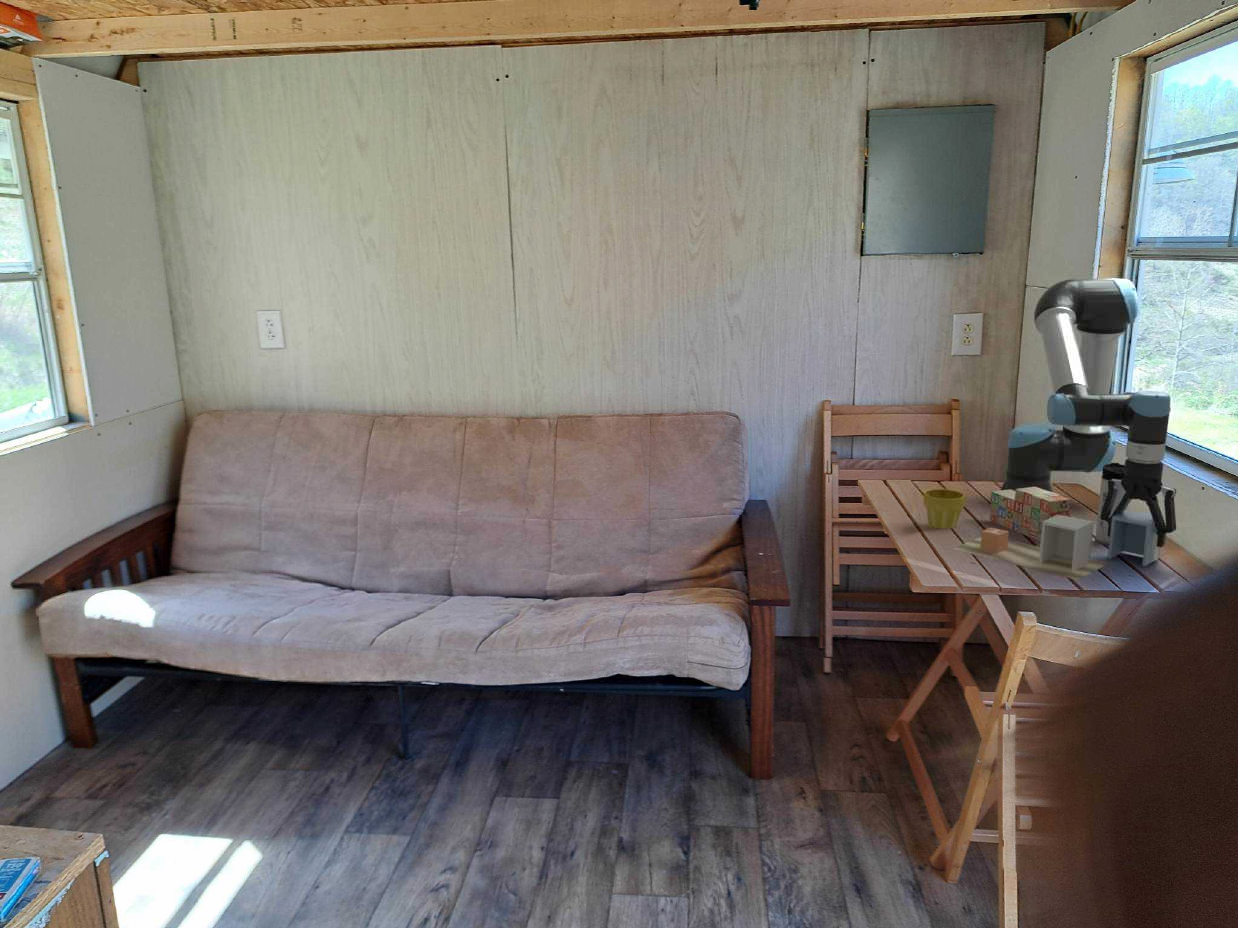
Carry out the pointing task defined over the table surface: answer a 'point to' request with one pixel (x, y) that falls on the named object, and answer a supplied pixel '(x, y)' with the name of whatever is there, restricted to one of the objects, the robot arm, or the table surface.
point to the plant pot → (943, 507)
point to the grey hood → (1066, 540)
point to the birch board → (1032, 559)
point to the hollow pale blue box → (1132, 535)
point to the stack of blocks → (1026, 509)
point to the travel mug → (1108, 473)
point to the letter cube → (994, 540)
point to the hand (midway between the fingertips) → (1133, 554)
